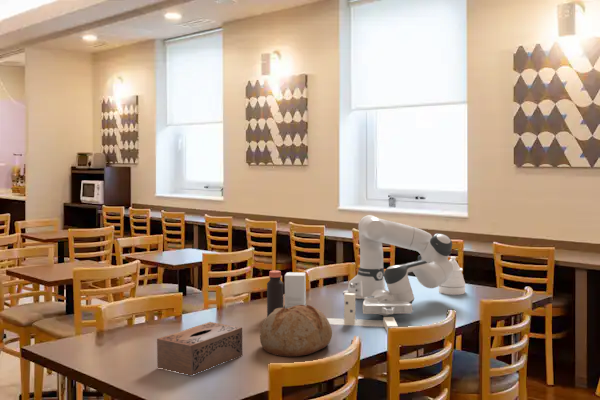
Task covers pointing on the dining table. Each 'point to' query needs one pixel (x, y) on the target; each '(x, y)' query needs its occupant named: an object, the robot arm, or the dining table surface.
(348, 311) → the tile two
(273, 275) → the bottle
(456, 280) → the honey pot
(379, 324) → the felt strip
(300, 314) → the bread
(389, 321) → the tile one
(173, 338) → the tissue box cover
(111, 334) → the dining table surface
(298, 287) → the supplement box
